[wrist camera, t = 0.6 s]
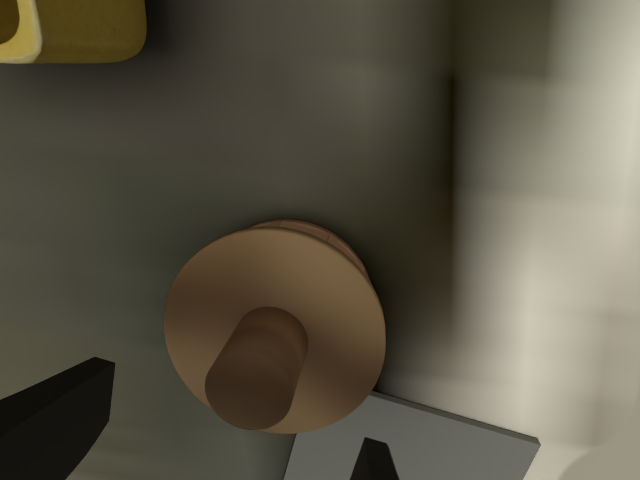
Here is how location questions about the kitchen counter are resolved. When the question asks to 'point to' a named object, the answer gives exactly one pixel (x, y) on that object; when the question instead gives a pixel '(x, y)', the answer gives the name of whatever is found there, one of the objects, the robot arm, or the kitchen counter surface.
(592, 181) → the kitchen counter surface
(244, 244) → the lid
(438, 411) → the mat
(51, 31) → the flower pot
